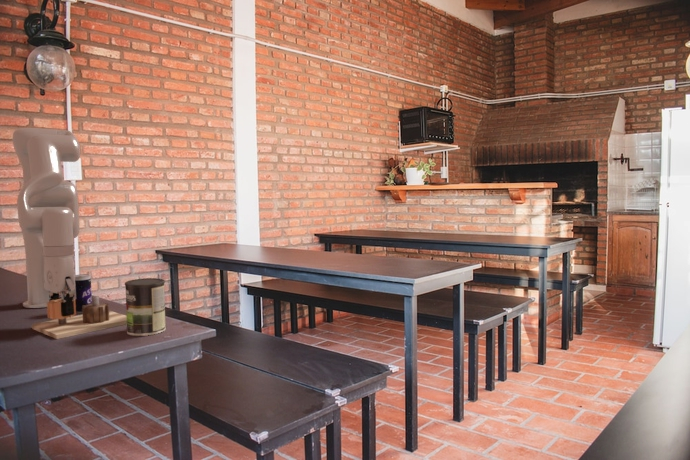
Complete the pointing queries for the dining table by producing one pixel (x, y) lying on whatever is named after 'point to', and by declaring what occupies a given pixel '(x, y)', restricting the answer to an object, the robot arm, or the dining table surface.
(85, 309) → the gear board
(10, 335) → the dining table surface
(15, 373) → the dining table surface
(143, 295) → the coffee can
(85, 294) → the beverage can
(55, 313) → the loose gear
